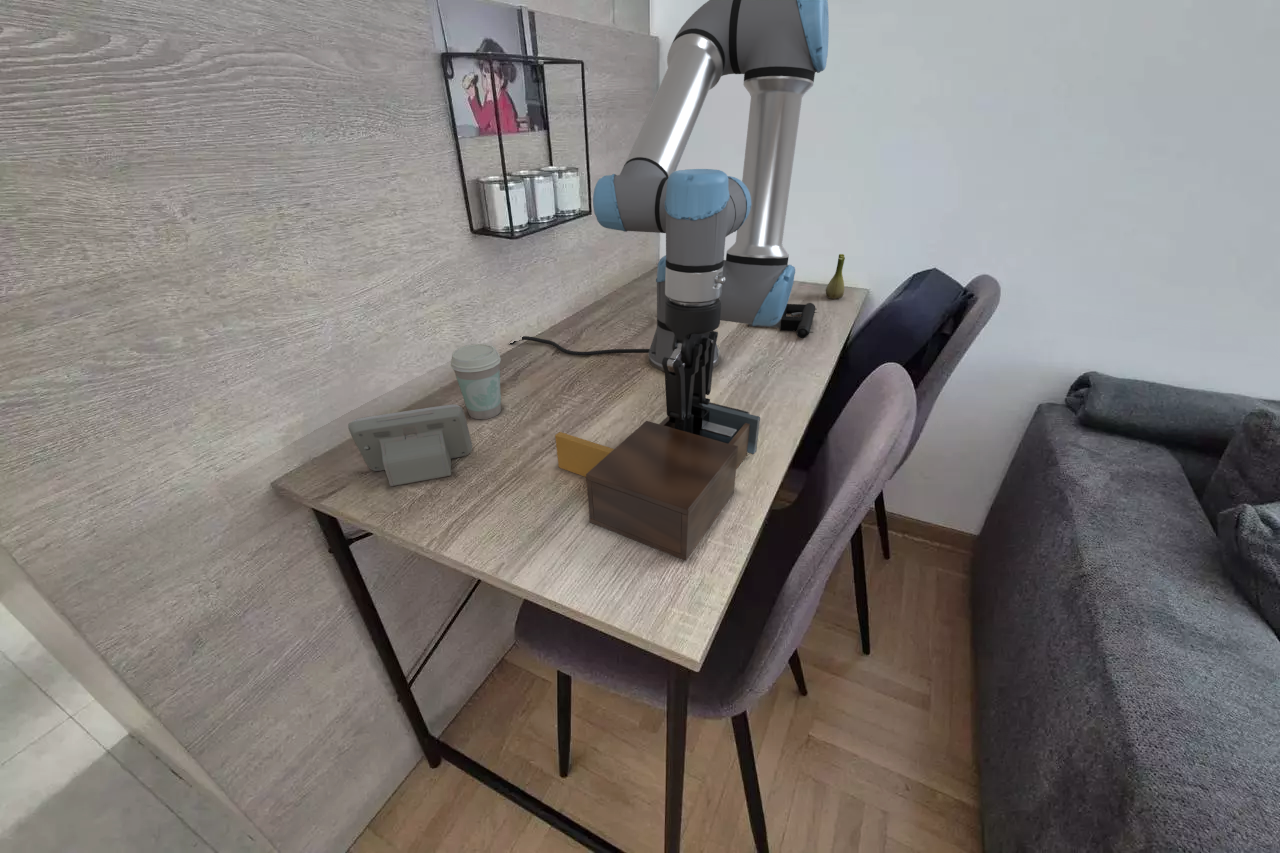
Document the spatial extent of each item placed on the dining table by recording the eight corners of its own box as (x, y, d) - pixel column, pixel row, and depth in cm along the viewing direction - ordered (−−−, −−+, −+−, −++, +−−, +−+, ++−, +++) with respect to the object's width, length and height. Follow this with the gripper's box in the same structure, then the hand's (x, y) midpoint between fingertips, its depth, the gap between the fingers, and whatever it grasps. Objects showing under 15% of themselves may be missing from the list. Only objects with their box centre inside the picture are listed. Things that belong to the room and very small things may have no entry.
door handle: (744, 324, 130) (814, 328, 125) (758, 299, 146) (820, 301, 141) (744, 337, 132) (813, 341, 127) (757, 311, 148) (819, 314, 143)
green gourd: (835, 302, 151) (843, 258, 145) (820, 298, 154) (827, 255, 148) (846, 297, 154) (854, 254, 148) (831, 293, 158) (838, 251, 151)
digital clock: (478, 449, 90) (466, 392, 84) (468, 481, 82) (455, 421, 77) (377, 456, 89) (358, 398, 83) (358, 489, 81) (336, 428, 76)
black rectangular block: (668, 421, 83) (669, 409, 82) (676, 414, 85) (676, 401, 84) (730, 438, 78) (731, 425, 77) (737, 430, 80) (738, 417, 79)
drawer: (692, 418, 96) (694, 386, 93) (766, 437, 90) (770, 404, 87) (637, 473, 82) (637, 438, 79) (720, 501, 76) (723, 464, 73)
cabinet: (646, 464, 85) (646, 420, 81) (734, 493, 79) (738, 446, 75) (589, 522, 74) (585, 474, 70) (686, 561, 67) (688, 510, 63)
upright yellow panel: (558, 467, 85) (554, 435, 82) (563, 463, 86) (559, 431, 83) (612, 486, 81) (610, 453, 78) (616, 482, 82) (614, 449, 78)
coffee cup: (461, 426, 96) (447, 364, 90) (461, 404, 103) (449, 345, 97) (510, 419, 98) (500, 358, 92) (507, 398, 105) (498, 340, 99)
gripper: (693, 320, 65) (687, 478, 77) (741, 286, 77) (729, 429, 89) (639, 310, 69) (641, 464, 81) (693, 279, 80) (688, 418, 92)
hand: (687, 445), depth 85 cm, fingers closed on black rectangular block, 3 cm apart
